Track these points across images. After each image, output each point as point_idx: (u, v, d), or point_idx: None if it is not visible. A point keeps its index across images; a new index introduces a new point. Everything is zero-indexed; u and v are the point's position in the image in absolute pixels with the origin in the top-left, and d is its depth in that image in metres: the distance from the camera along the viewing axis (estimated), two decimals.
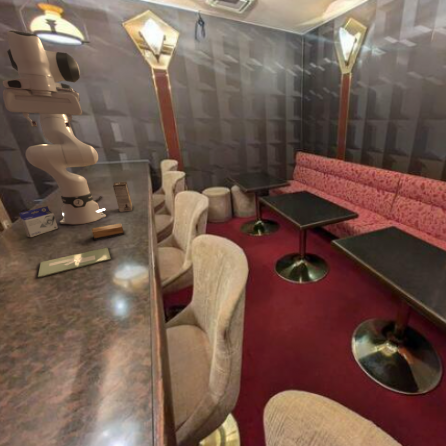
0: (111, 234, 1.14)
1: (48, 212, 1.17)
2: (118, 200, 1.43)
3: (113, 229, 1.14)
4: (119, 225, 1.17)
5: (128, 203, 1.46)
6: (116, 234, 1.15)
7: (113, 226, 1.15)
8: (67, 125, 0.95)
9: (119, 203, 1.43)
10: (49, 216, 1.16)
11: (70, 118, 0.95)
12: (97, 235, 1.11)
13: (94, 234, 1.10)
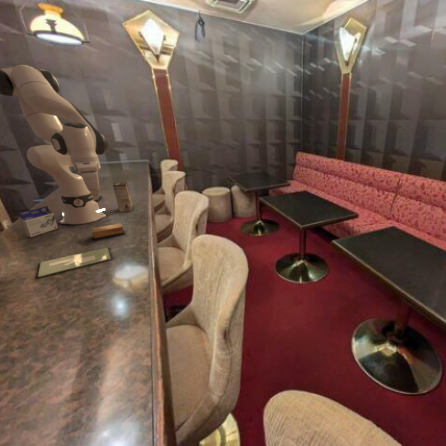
0: (111, 234, 1.14)
1: (48, 212, 1.17)
2: (118, 200, 1.43)
3: (113, 229, 1.14)
4: (119, 225, 1.17)
5: (128, 203, 1.46)
6: (116, 234, 1.15)
7: (113, 226, 1.15)
8: None
9: (119, 203, 1.43)
10: (49, 216, 1.16)
11: None
12: (97, 235, 1.11)
13: (94, 234, 1.10)
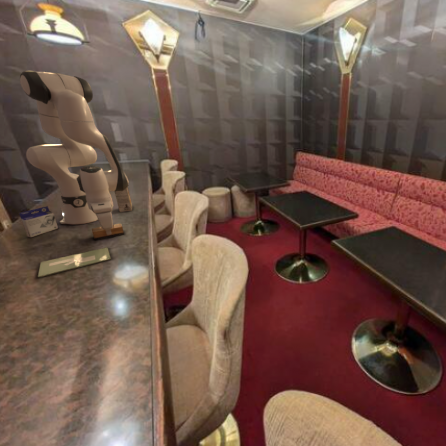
0: (111, 234, 1.14)
1: (48, 212, 1.17)
2: (118, 200, 1.43)
3: (113, 229, 1.14)
4: (119, 225, 1.17)
5: (128, 203, 1.46)
6: (116, 234, 1.15)
7: (113, 226, 1.15)
8: None
9: (119, 203, 1.43)
10: (49, 216, 1.16)
11: None
12: (97, 235, 1.10)
13: (94, 234, 1.10)
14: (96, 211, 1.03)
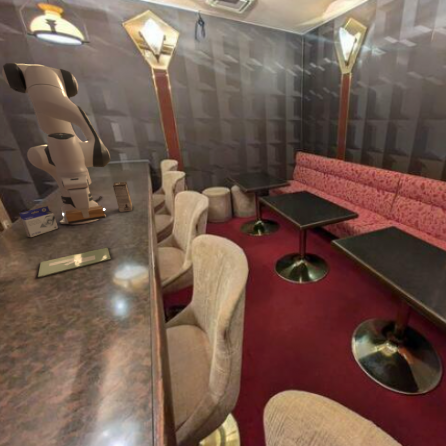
0: (89, 218, 0.95)
1: (48, 212, 1.17)
2: (118, 200, 1.43)
3: (92, 211, 0.95)
4: (99, 207, 0.98)
5: (128, 203, 1.46)
6: (96, 217, 0.96)
7: (92, 208, 0.96)
8: None
9: (119, 203, 1.43)
10: (49, 216, 1.16)
11: None
12: (72, 218, 0.91)
13: (68, 217, 0.90)
14: (68, 186, 0.84)
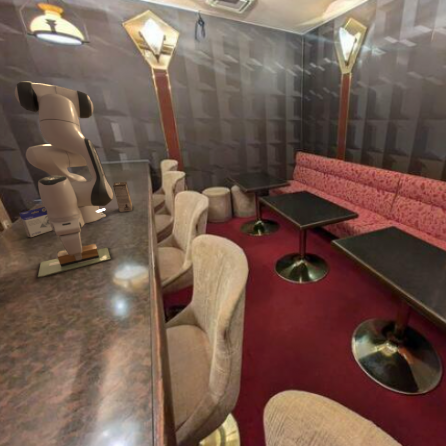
0: (82, 259, 0.92)
1: None
2: (118, 200, 1.43)
3: (85, 252, 0.92)
4: (93, 246, 0.95)
5: (128, 203, 1.46)
6: (89, 258, 0.94)
7: (85, 248, 0.94)
8: None
9: (119, 203, 1.43)
10: None
11: None
12: (64, 260, 0.89)
13: (60, 259, 0.88)
14: (59, 233, 0.81)
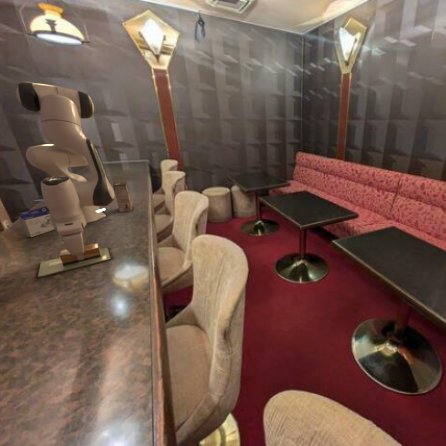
0: (84, 258, 0.93)
1: (48, 212, 1.17)
2: (118, 200, 1.43)
3: (87, 251, 0.93)
4: (95, 246, 0.96)
5: (128, 203, 1.46)
6: (91, 257, 0.94)
7: (87, 247, 0.94)
8: None
9: (119, 203, 1.43)
10: (49, 216, 1.16)
11: None
12: (66, 259, 0.89)
13: (62, 258, 0.89)
14: (61, 233, 0.82)
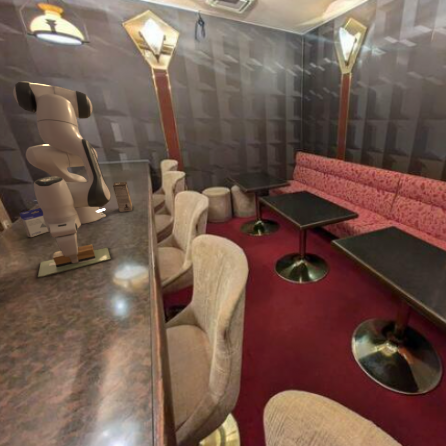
0: (78, 259, 0.92)
1: None
2: (118, 200, 1.43)
3: (81, 253, 0.92)
4: (89, 247, 0.95)
5: (128, 203, 1.46)
6: (85, 259, 0.93)
7: (81, 249, 0.93)
8: None
9: (119, 203, 1.43)
10: None
11: None
12: (60, 261, 0.88)
13: (55, 260, 0.88)
14: (55, 234, 0.81)
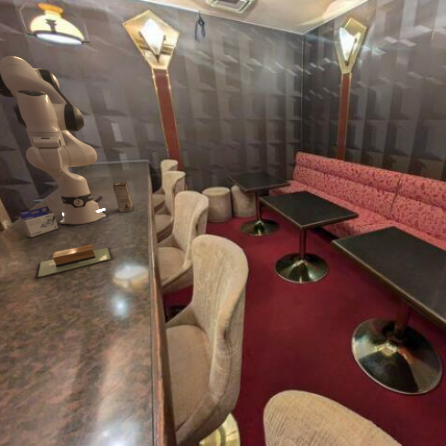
0: (78, 259, 0.92)
1: (48, 212, 1.17)
2: (118, 200, 1.43)
3: (81, 253, 0.92)
4: (89, 247, 0.95)
5: (128, 203, 1.46)
6: (85, 259, 0.93)
7: (81, 249, 0.93)
8: (62, 174, 0.97)
9: (119, 203, 1.43)
10: (49, 216, 1.16)
11: None
12: (60, 261, 0.88)
13: (55, 260, 0.88)
14: (37, 145, 0.82)
